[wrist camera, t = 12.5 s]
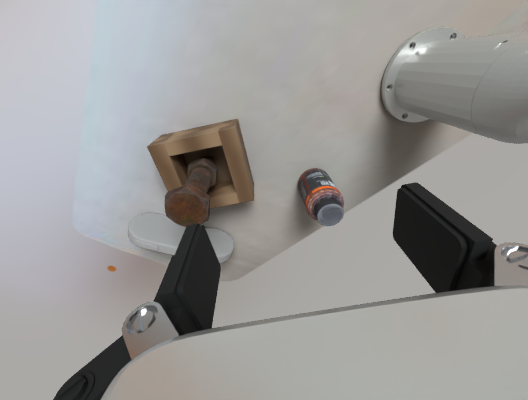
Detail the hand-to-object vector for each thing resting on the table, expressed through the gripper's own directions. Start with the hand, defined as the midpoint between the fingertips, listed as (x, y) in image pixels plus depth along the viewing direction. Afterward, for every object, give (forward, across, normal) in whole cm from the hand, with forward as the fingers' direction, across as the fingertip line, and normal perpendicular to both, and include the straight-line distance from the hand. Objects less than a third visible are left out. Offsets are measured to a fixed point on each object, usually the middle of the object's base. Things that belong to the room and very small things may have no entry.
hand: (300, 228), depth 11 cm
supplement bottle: (+31, -6, +14) cm, 34 cm away
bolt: (+30, +12, +6) cm, 33 cm away
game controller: (+31, +20, +18) cm, 41 cm away
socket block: (+30, +12, +6) cm, 33 cm away
